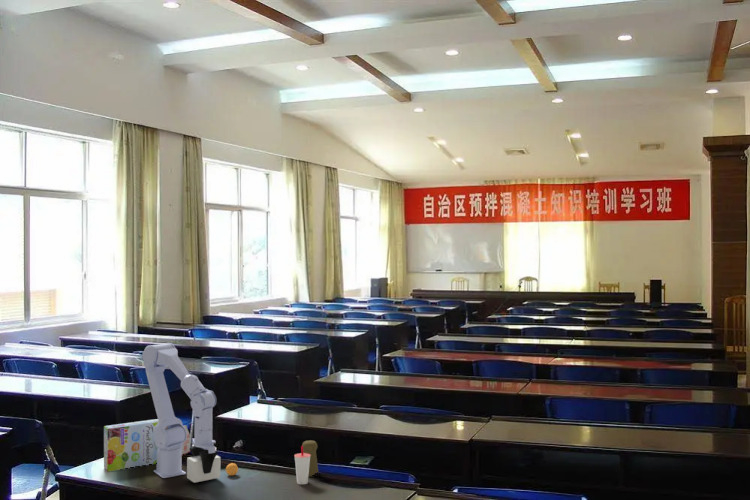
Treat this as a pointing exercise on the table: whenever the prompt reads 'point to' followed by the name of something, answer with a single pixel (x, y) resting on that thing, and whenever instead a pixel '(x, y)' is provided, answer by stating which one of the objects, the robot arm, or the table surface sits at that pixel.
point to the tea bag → (186, 443)
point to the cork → (311, 449)
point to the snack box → (129, 445)
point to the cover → (196, 469)
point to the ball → (231, 469)
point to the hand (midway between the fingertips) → (203, 470)
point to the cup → (302, 466)
